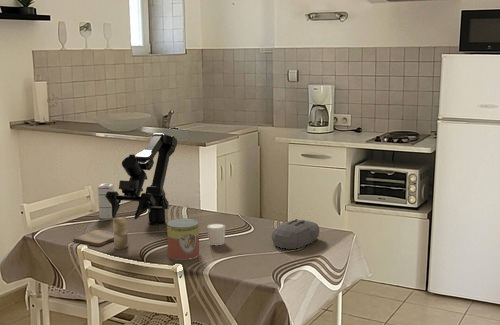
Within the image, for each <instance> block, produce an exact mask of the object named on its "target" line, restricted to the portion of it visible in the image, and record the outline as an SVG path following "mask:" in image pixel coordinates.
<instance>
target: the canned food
mask: <svg viewBox="0 0 500 325" xmlns="http://www.w3.org/2000/svg"><path fill="white" fill-rule="evenodd" d="M199 223H200V222H199V220H197V219H195V218H188V217H185V218H183V217H181V218H174V219H171V220H169V221H166V227H167V229H166V230H167V231H166V232H167V257H168V258H170V259H171V258H172V259H171V260H174V259H176V261H185V260H184V259H189V258H194V257H196V256H198V255H199V256H200V254H199V253H200V237H199V235H200V234H199V233H200V229H199V225H200V224H199ZM199 256H198V257H199ZM196 258H197V257H196ZM194 259H195V258H194Z"/></svg>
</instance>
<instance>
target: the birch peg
mask: <svg viewBox="0 0 500 325" xmlns="http://www.w3.org/2000/svg"><path fill="white" fill-rule="evenodd" d="M127 221H128V220H127V217H126V216H115V217H114V218H112V226H113V230H112V231H113V233H114V241H113V245H114V249H115V250H116V249H117V250H123V249H127V248H128V247H129V237H128V222H127Z"/></svg>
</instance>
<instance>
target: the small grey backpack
mask: <svg viewBox="0 0 500 325" xmlns="http://www.w3.org/2000/svg"><path fill="white" fill-rule="evenodd" d="M319 236H320V227H319V224H317V223H316V222H313V221H310V220H305V219H294V220H290V221H287V222H282V223H280V224H279V225H277V227H276V228H274V230H273V232H272V234H271V239H272V242H273V245H274V246H275V247H276V246H277V247H276V248H279V247H280V248H279V249H282V248H286V249H285V250H297V249H296V248H298V249H301V248H300V247H303V246H305V245H307V244H310V243H311V244H312V242H313V241H314V242H315V241H316V240H317V239H318V237H319ZM314 242H313V243H314ZM311 244H310V245H311ZM307 246H308V245H307ZM305 247H306V246H305ZM303 248H304V247H303Z"/></svg>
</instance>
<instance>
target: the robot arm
mask: <svg viewBox="0 0 500 325" xmlns="http://www.w3.org/2000/svg"><path fill="white" fill-rule="evenodd" d="M151 137H152V138H151V139H150V141H149V142H148V143H147V144H146V146H145V147H144V149H143V150H142V151H140V152H138V153H137V154H133V153H132V154H129V155H128V156H127V157H125V158H123V160H122V162H121V166H122V168H123V169H124V171H125V173H126V174H127V175H128V177H129V178H128V179H129V180H119V183H118V190H121V193H122V194H119V193H118V191H116V190H114V191H108V192H107V193H106V196H105V197H106V198H107V200H108V201H109V202H110V203H111V205H112V217H113V218H115V217H116V215H117V213H118V211H119V209H120V207H121V205H120V204H121V201H127V202H128V201H129V202H138V204H137V209H136V210H135V214H134V220H137V219H138V218H140V216H141V215H142V214H143V213H145V212H146V211H147V210H148V211H147V221H148V223H149V224H150V225H151V226H152V225H162V224H167V221H166V211H165V210H169V200H168V199H167V198H166V192H165V189H164V184H165V180H166V175H167V170H168V165H169V161H170V157H171V156H172V155H173V154H174V153H175V151H176V149H177V148H176V147H177V145H178V139H177V138H176V137H175V136H174V135H168V134H165V133H160V132H159V133H157V132H156V133H153V134H152V136H151ZM156 155H157V158H156V159H157V160H156V164H155V162H154V158H155V156H156ZM154 164H155V169H154V172H153V176H152V177H153V179H152V182H151V185H150V186H147V187H146V188H145V192H143V191H144V188H143V186H144V183H145V180H146V181H147V180H148V176H147V173H146V171H150V170H152V168H153V166H154ZM113 218H112V219H113Z"/></svg>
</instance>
